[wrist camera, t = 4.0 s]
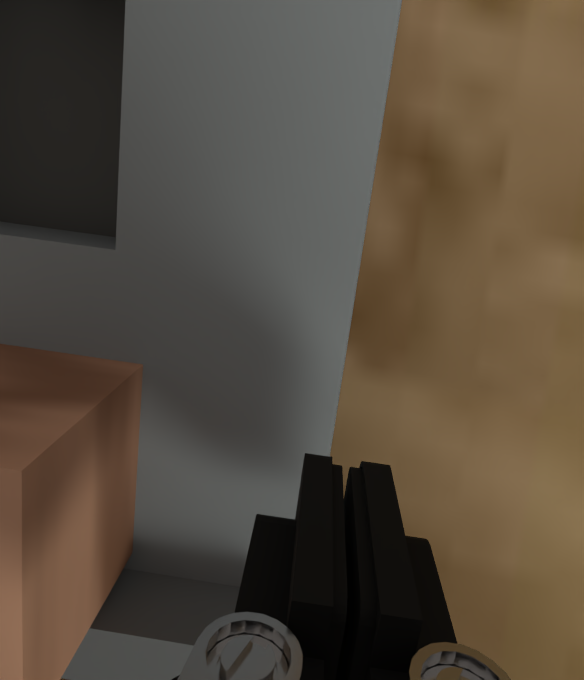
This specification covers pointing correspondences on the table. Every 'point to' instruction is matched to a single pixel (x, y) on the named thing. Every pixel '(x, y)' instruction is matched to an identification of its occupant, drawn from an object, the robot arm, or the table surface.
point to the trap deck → (192, 261)
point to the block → (62, 500)
